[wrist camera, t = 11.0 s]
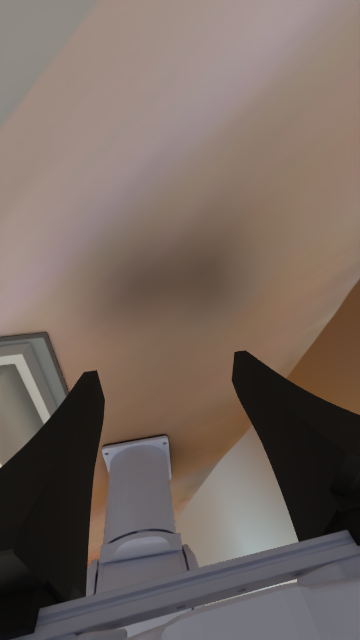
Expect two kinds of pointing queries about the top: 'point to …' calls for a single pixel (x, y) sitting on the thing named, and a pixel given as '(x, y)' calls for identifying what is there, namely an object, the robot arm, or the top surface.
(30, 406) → the long cream rectangular block
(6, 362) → the stepped grey tray
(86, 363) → the top surface
